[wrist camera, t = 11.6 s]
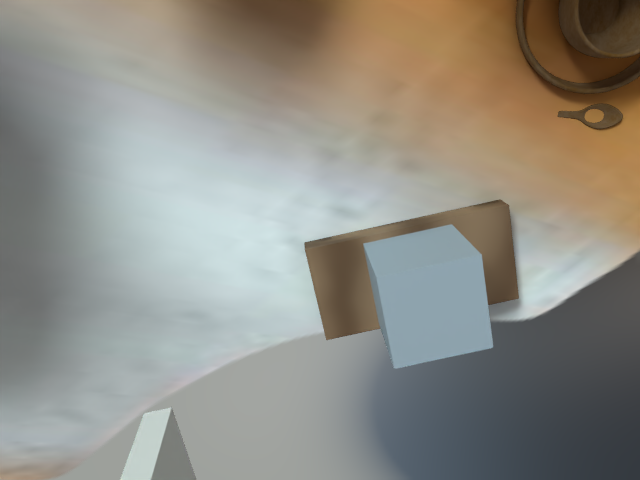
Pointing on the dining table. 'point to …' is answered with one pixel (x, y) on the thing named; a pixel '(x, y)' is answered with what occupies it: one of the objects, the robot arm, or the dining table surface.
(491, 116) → the dining table surface
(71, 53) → the dining table surface
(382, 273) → the cube
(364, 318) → the board
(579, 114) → the place setting
